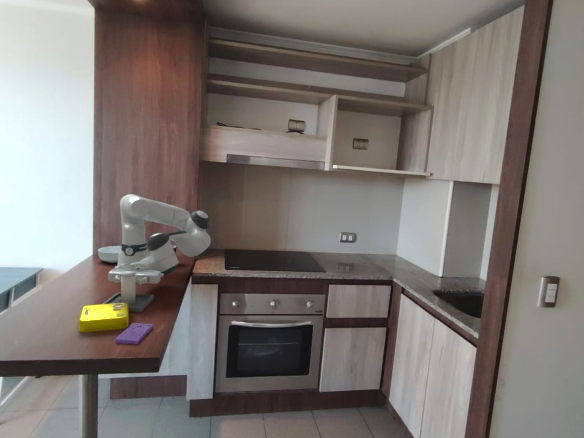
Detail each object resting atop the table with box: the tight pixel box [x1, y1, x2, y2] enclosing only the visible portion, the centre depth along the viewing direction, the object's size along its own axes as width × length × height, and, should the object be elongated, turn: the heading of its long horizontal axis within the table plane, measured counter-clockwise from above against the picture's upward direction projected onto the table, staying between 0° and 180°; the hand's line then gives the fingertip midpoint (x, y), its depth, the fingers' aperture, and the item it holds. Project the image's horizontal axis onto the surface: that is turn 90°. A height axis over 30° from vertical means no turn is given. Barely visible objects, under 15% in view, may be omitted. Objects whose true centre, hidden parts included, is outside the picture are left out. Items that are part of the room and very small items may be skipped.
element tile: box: [78, 303, 130, 333], centre depth 130 cm, size 15×15×5 cm
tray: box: [102, 292, 155, 313], centre depth 147 cm, size 15×15×2 cm
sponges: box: [114, 322, 153, 345], centre depth 122 cm, size 7×13×2 cm, turn 179°
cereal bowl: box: [97, 245, 122, 264], centre depth 207 cm, size 17×17×7 cm
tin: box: [120, 271, 137, 305], centre depth 146 cm, size 5×5×12 cm
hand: (127, 281), depth 145 cm, fingers open, 8 cm apart
